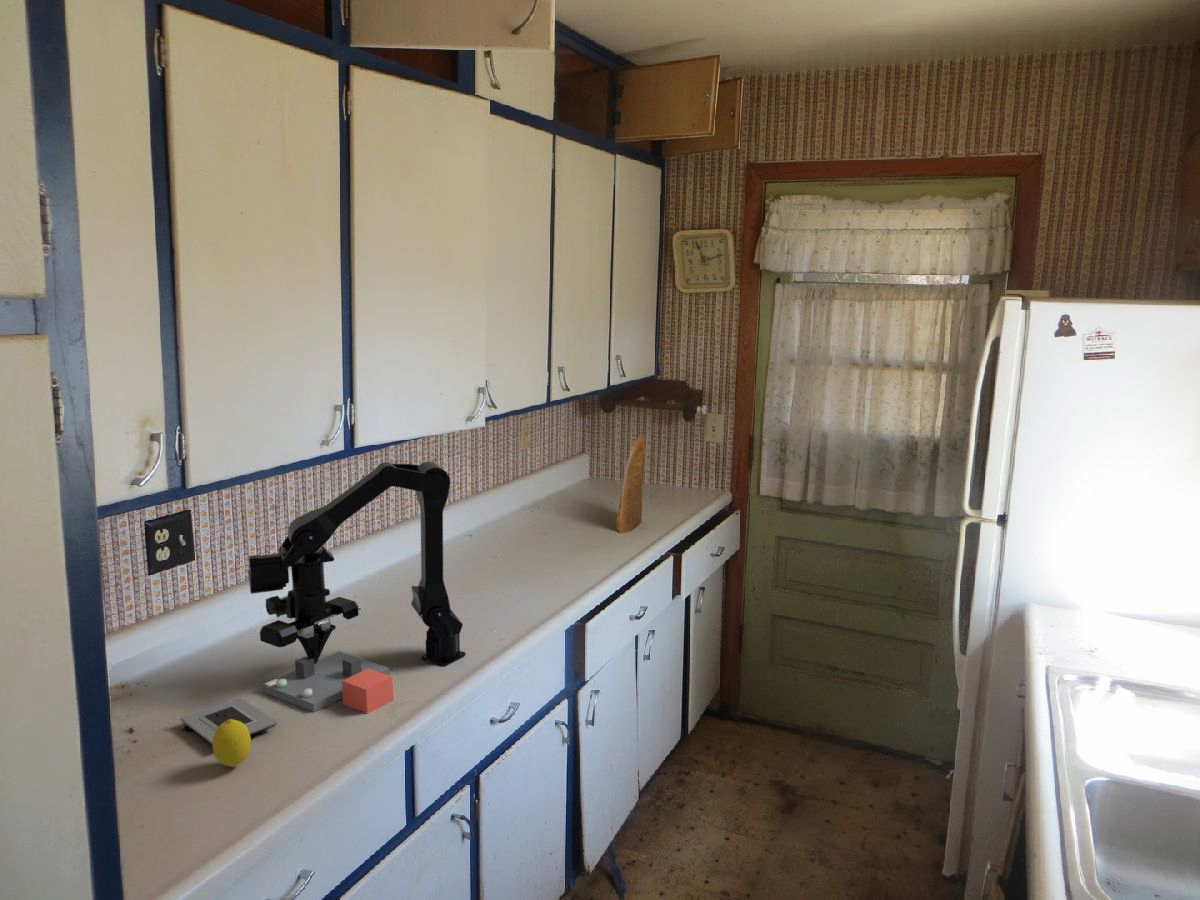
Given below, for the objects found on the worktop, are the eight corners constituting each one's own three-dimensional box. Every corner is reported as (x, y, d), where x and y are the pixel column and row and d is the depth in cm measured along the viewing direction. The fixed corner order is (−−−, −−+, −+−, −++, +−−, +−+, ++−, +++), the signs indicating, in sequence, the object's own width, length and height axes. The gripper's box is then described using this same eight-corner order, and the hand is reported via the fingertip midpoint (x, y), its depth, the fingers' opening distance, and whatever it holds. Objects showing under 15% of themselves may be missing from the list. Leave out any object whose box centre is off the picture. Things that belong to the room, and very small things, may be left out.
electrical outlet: (277, 733, 154) (277, 720, 153) (217, 757, 146) (215, 743, 145) (240, 708, 162) (239, 696, 162) (181, 729, 154) (179, 716, 154)
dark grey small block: (352, 670, 173) (352, 655, 173) (361, 673, 172) (360, 658, 171) (342, 674, 171) (342, 659, 171) (351, 678, 170) (351, 663, 169)
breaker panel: (339, 658, 182) (338, 646, 182) (389, 675, 175) (388, 663, 174) (262, 691, 168) (262, 679, 167) (313, 712, 160) (313, 698, 160)
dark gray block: (306, 671, 173) (305, 656, 172) (314, 674, 171) (313, 659, 171) (295, 675, 171) (295, 660, 170) (304, 678, 169) (303, 663, 169)
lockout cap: (369, 691, 168) (368, 668, 167) (393, 699, 165) (392, 676, 164) (343, 704, 163) (341, 680, 162) (367, 713, 160) (366, 689, 159)
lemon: (207, 774, 140) (203, 726, 139) (227, 756, 145) (223, 709, 144) (240, 778, 139) (236, 729, 138) (259, 759, 145) (256, 712, 143)
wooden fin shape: (650, 519, 287) (652, 432, 281) (632, 535, 269) (633, 442, 264) (630, 517, 289) (631, 430, 283) (610, 533, 271) (611, 440, 266)
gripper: (319, 563, 181) (324, 636, 185) (237, 591, 166) (244, 670, 169) (358, 574, 175) (362, 649, 179) (277, 604, 160) (283, 686, 163)
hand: (313, 663), depth 173 cm, fingers closed
